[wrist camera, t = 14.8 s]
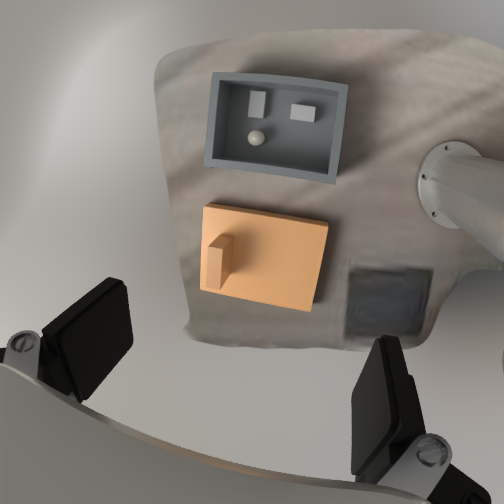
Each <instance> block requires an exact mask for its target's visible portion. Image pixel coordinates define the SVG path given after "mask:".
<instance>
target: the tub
mask: <svg viewBox="0 0 504 504" xmlns="http://www.w3.org/2000/svg"><path fill="white" fill-rule="evenodd" d="M347 93H348V85H347V84H341V83H335V82H329V81H323V80H316V79H308V78H300V77H292V76H282V75H270V74H255V73H230V72H213V74H212V83H211V92H210V101H209V111H208V122H207V133H206V144H205V157H204V166H209V167H218V168H227V169H236V170H244V171H252V172H259V173H267V174H274V175H281V176H287V177H294V178H300V179H306V180H312V181H318V182H324V183H329V184H335V182H336V176H337V170H338V163H339V157H340V150H341V142H342V135H343V127H344V119H345V111H346V102H347Z"/></svg>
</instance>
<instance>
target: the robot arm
mask: <svg viewBox="0 0 504 504" xmlns="http://www.w3.org/2000/svg"><path fill="white" fill-rule="evenodd" d="M445 146H446V150H445ZM423 174H424V177H423V178H422V175H423ZM417 192H418V197H419V200H420V203H421V205H422V207H423V209H424V211H425V212H426V214H427V215H428V216H429V217H430V218H431V219H432V220H433V221H434V222H436V223H437V224H438V225H440V226H442V227H444V228H448V229H462V230H464V231H465V232H466V233H467V234H469V235H470V236H471V237H472V238H474V239H475V240H476V241H477V242H478V243H480V244H481V245H482V246H483V247H485V248H486V249H487V250H488V251H489V252H491V253H492V254H493V255H494V256H495V257H497V258H498V259H500V260H501V261H503V262H504V162H503V161H498V160H494V159H489V158H484V157H482V156H481V155H480V153H479V152H478V151H477V150H475V149H474V148H473V147H472V146H470V145H468V144H466V143H462V142H458V141H448V142H443V143H441V144H438V145H437V146H435V147H434V148H432V149H431V150H430V151H429V152H428V153H427V154H426V156H425V157H424V159H423V161H422V163H421V165H420V168H419V171H418V176H417ZM432 212H434V214H432ZM42 333H43V336H42V337H41V338H40V336H39V335H38V334H37V333H36V332H34V331H27V330H26V331H21V332H19V333H16V334H15V335H13V336H12V337H11V338H10V339H9V341H8V343H7V347H6V348H0V504H491V497H490V495H489V493H488V492H487V491H486V490H485V489H484V488H483V487H482V486H480V485H479V484H478V483H476V482H475V481H473V480H472V479H471V478H469V477H468V476H466V475H465V474H464V473H463V472H461V471H460V470H459V469H457V468H456V467H455V466H453V465H452V464H451V463H450V462H451V459H452V450H451V447H450V445H449V444H448V442H447V441H446V440H445V439H444V438H443V437H441V436H439V435H437V434H432V433H428V434H426V430H425V425H424V420H423V416H422V411H421V407H420V402H419V398H418V394H417V390H416V386H415V382H414V379H413V376H411V375H409V374H408V370H407V366H406V362H405V359H404V355H403V351H402V348H401V344H400V341H399V338H398V337H396V336H389V335H382V336H381V338H376V339H375V341H374V344H373V346H372V349H371V351H370V354H369V356H368V358H367V361H366V363H365V365H364V368H363V370H362V372H361V374H360V377H359V379H358V381H357V383H356V385H355V388H354V390H353V392H352V399H351V403H352V456H351V457H352V458H351V473H352V475H356V478H355V482H349V481H341V480H330V479H321V478H313V477H306V476H299V475H293V474H287V473H281V472H275V471H270V470H265V469H260V468H255V467H251V466H246V465H242V464H238V463H233V462H230V461H226V460H222V459H219V458H215V457H211V456H208V455H205V454H201V453H198V452H195V451H192V450H188V449H185V448H182V447H180V446H177V445H174V444H171V443H168V442H165V441H163V440H160V439H157V438H155V437H152V436H149V435H147V434H144V433H142V432H140V431H137V430H135V429H133V428H130V427H128V426H126V425H123V424H121V423H119V422H116V421H115V420H112V419H110V418H108V417H106V416H104V415H102V414H100V413H98V412H96V411H94V410H92V409H90V408H88V407H86V406H84V405H82V404H81V403H82V401H83V400H87V399H88V398H89V397H90V396H91V395H92V394H93V392H94V391H95V390H96V389H97V387H98V386H99V385H100V384H101V383H102V381H103V380H104V379H105V378H106V377H107V375H108V374H109V373H110V372H111V371H112V369H113V368H114V367H115V366H116V365H117V363H118V362H119V361H120V360H121V359H122V357H123V356H124V355H125V354H126V353H127V351H128V350H129V349H130V348H131V347H132V344H133V333H132V325H131V318H130V311H129V304H128V294H127V287H126V286H125V285H124V283H123V281H122V280H119V279H115V278H112V277H108V278H107V279H105V280H104V281H103V282H101V283H100V284H99V285H97V286H96V287H95V288H93V289H92V290H91V291H89V292H88V293H87V294H86V295H84V296H83V297H82V298H81V299H79V300H78V301H77V302H75V303H74V304H73V305H71V306H70V307H69V308H68V309H66V310H65V311H64V312H63V313H62V314H60V315H59V316H58V317H57V318H55V319H54V320H53V321H52V322H50V323H49V324H48V325H47V326H46V327H44V328H43V329H42ZM502 363H503V364H502V366H503V372H504V352H503V359H502Z"/></svg>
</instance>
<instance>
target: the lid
mask: <svg viewBox="0 0 504 504" xmlns="http://www.w3.org/2000/svg"><path fill="white" fill-rule="evenodd" d="M327 232H328V222H323V221H318V220H312V219H307V218H301V217H295V216H289V215H284V214H278V213H271V212H265V211H259V210H253V209H246V208H240V207H233V206H227V205H220V204H213V203H208V204H207V205H205V206H204V209H203V227H202V249H201V277H200V289H201V290H205V291H210V292H214V293H219V294H223V295H228V296H233V297H237V298H242V299H247V300H252V301H257V302H262V303H267V304H272V305H277V306H282V307H287V308H292V309H298V310H303V311H308V312H310V311H311V306H312V302H313V298H314V293H315V289H316V285H317V280H318V276H319V271H320V266H321V262H322V257H323V252H324V247H325V242H326V237H327Z"/></svg>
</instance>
